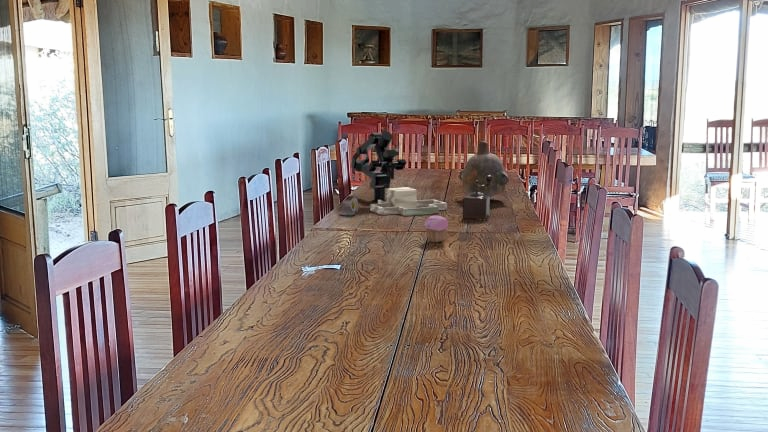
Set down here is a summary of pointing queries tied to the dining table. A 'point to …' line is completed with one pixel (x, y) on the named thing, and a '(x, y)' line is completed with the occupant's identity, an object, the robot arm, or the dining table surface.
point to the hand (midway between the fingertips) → (392, 178)
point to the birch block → (402, 197)
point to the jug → (484, 172)
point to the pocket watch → (353, 207)
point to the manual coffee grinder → (477, 202)
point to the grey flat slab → (422, 205)
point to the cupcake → (436, 228)
